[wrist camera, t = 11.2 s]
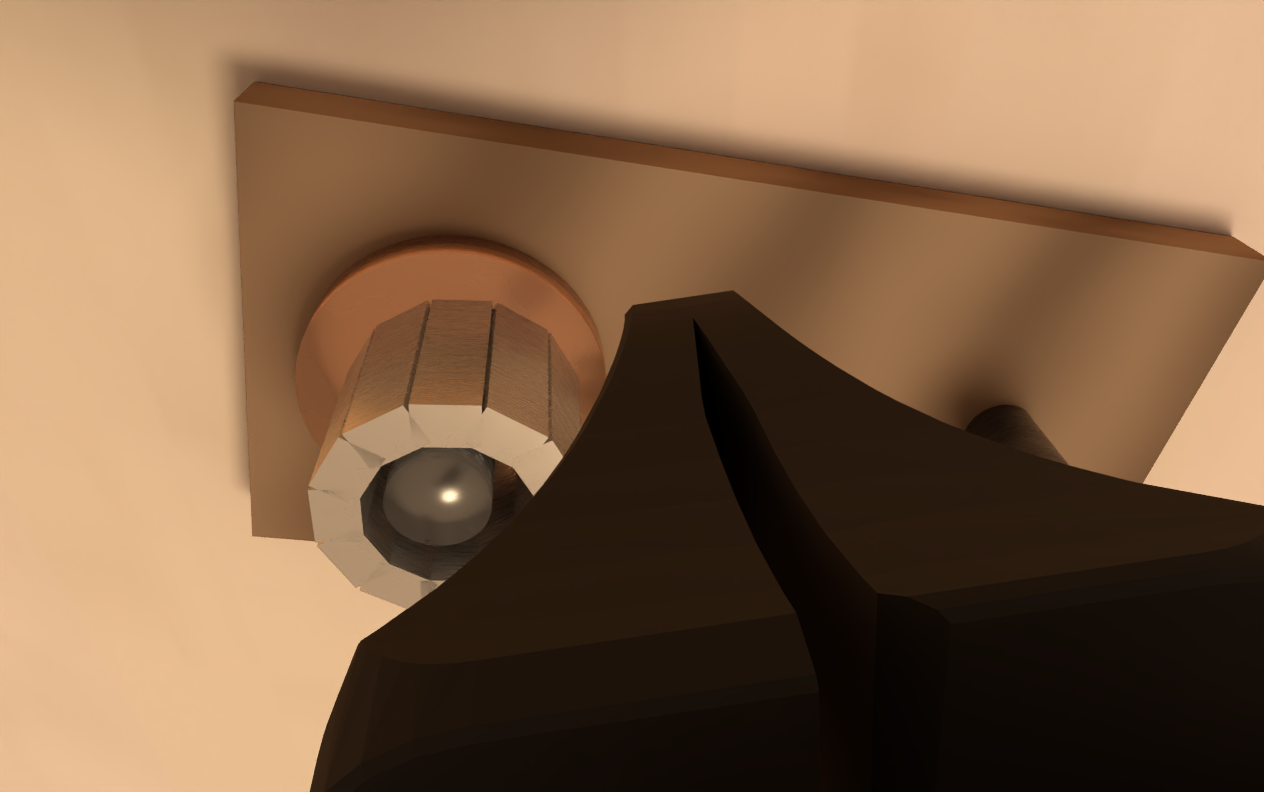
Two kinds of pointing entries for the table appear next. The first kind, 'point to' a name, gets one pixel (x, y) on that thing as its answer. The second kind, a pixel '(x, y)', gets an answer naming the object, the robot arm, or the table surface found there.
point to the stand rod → (1014, 431)
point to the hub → (424, 270)
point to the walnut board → (734, 270)
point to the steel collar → (438, 433)
